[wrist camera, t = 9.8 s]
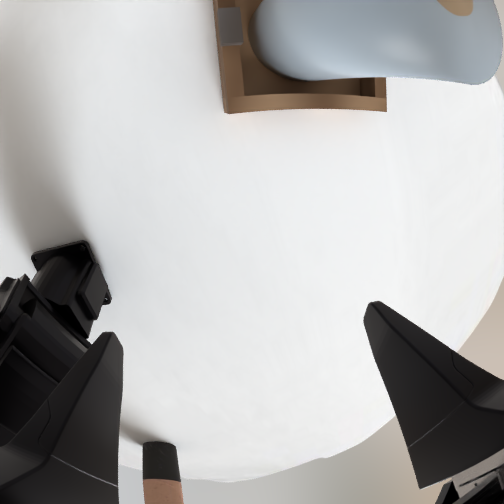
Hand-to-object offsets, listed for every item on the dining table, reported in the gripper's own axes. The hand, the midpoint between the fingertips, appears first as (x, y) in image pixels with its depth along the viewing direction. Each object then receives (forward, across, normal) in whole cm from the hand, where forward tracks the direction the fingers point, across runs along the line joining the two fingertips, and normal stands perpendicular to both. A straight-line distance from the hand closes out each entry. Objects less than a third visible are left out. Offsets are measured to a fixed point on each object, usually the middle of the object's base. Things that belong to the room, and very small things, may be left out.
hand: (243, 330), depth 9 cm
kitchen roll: (+13, -6, -11) cm, 18 cm away
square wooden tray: (+14, -6, -12) cm, 19 cm away
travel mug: (+11, +20, +50) cm, 54 cm away
